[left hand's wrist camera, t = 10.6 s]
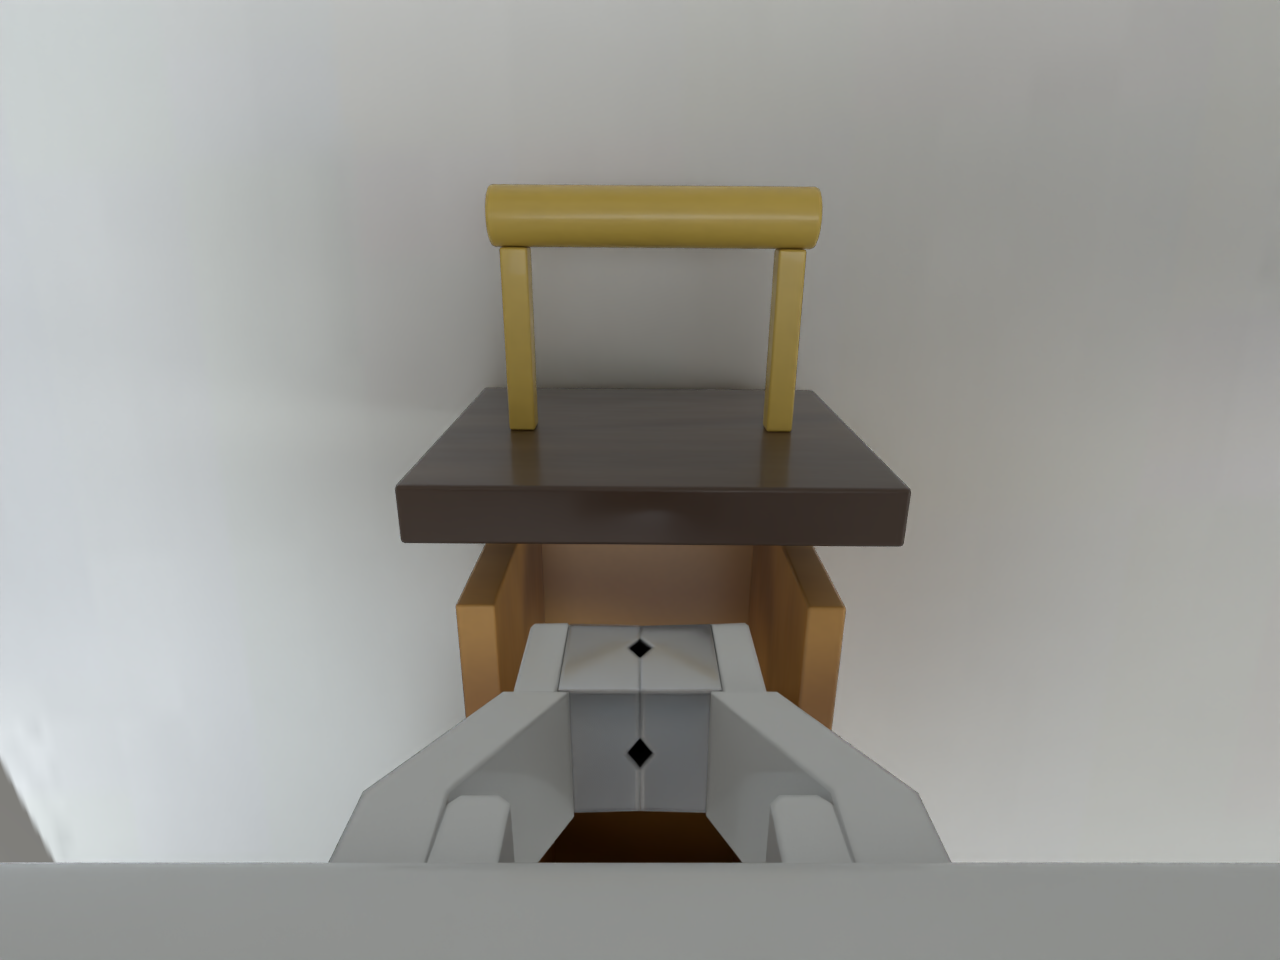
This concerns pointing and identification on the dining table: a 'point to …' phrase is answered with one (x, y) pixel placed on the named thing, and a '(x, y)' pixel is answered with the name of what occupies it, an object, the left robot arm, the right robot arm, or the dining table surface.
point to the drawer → (652, 485)
